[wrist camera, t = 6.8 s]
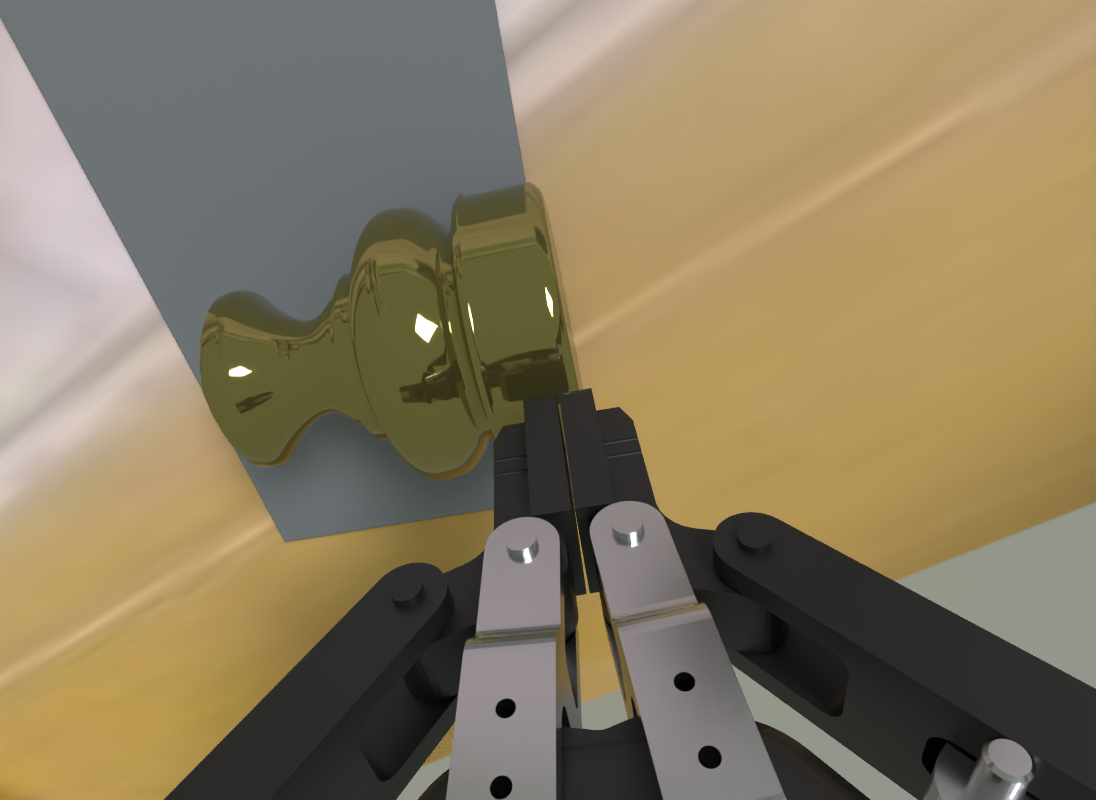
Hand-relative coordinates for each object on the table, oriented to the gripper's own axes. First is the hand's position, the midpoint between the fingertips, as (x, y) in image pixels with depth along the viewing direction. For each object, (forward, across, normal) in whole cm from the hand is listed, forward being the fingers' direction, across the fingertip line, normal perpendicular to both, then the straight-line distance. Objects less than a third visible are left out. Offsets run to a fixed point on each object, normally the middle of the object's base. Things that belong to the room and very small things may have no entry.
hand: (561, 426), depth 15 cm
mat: (+8, +6, 0) cm, 10 cm away
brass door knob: (+4, -1, 0) cm, 5 cm away
